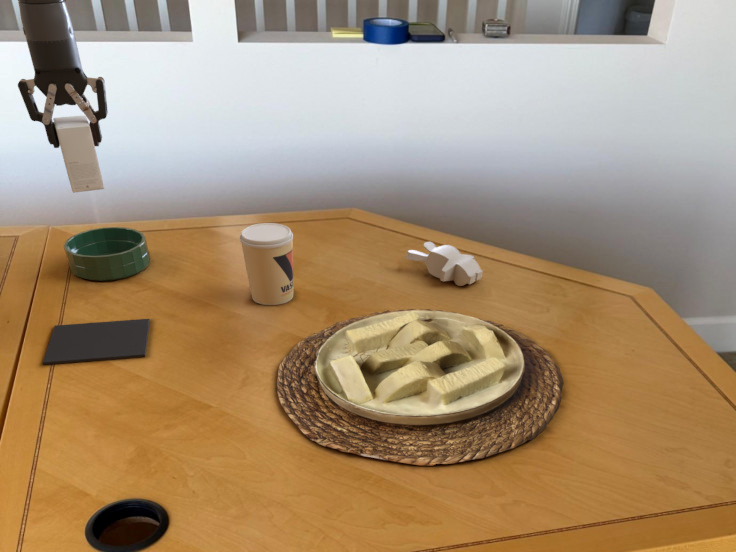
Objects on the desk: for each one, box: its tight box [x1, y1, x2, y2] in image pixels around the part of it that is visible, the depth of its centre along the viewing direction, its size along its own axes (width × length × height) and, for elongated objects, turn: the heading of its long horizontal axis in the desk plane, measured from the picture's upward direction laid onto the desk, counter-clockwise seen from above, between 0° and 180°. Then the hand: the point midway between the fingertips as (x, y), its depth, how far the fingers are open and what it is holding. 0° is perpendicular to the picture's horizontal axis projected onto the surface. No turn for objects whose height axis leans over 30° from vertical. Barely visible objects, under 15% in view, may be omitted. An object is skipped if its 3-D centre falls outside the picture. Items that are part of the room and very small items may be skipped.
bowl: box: [63, 226, 151, 282], centre depth 152 cm, size 15×15×5 cm
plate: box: [276, 308, 564, 467], centre depth 120 cm, size 45×45×7 cm
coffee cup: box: [239, 222, 294, 306], centre depth 140 cm, size 9×9×12 cm
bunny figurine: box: [405, 241, 484, 287], centre depth 150 cm, size 10×5×15 cm
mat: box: [42, 318, 151, 366], centre depth 130 cm, size 16×13×1 cm
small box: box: [52, 115, 105, 193], centre depth 137 cm, size 8×6×10 cm
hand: (76, 145), depth 136 cm, fingers closed on small box, 6 cm apart
